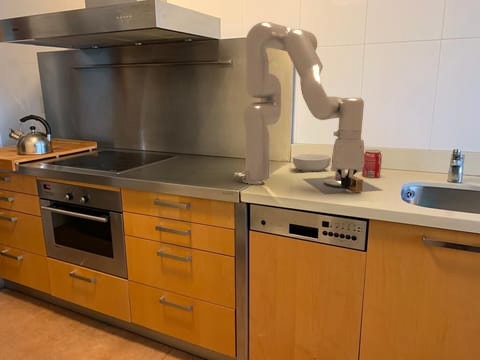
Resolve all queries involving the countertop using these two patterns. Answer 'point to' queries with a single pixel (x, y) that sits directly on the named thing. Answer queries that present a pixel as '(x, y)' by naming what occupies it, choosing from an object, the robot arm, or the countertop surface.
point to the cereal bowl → (311, 162)
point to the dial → (336, 181)
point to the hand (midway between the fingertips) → (345, 187)
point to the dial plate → (329, 189)
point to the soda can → (372, 164)
